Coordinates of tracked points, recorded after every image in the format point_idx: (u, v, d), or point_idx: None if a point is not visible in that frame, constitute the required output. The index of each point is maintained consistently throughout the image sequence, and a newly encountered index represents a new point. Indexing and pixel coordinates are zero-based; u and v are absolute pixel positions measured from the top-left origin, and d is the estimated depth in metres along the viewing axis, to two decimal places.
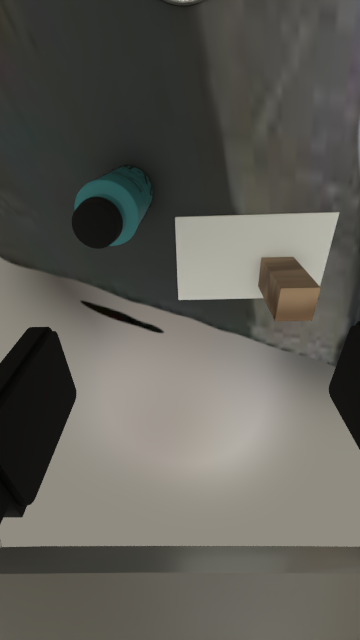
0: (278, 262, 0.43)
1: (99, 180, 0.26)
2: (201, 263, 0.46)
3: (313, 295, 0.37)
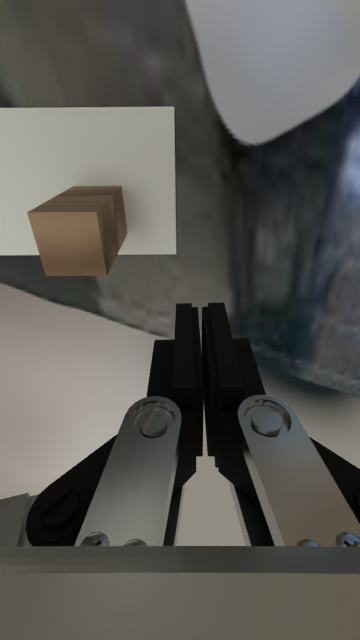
0: (87, 189, 0.27)
1: None
2: None
3: (90, 227, 0.21)
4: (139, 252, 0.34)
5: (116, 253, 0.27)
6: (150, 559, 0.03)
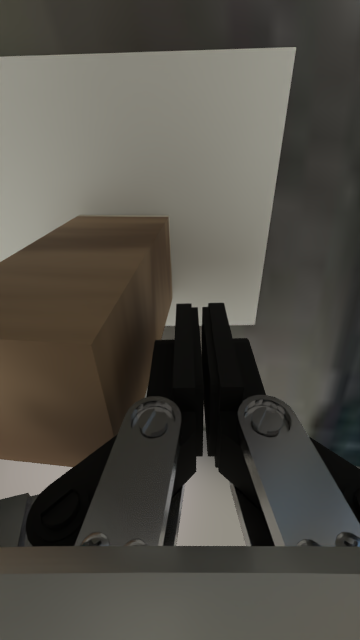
0: (99, 227, 0.13)
1: None
2: None
3: (72, 380, 0.07)
4: None
5: None
6: (150, 559, 0.03)
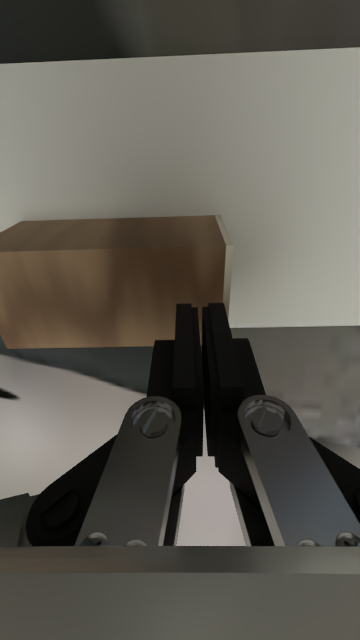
0: (174, 226, 0.14)
1: None
2: None
3: None
4: (307, 323, 0.19)
5: (92, 344, 0.14)
6: (150, 559, 0.03)
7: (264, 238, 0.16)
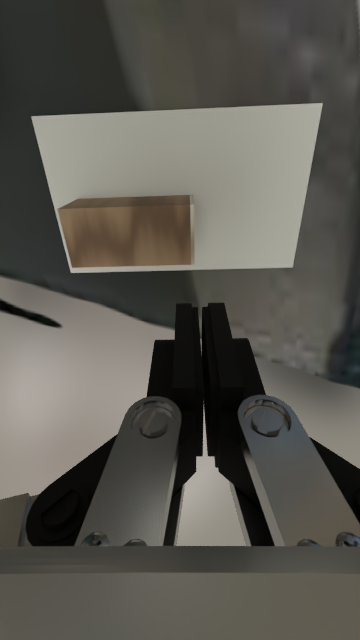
0: (165, 199, 0.25)
1: None
2: None
3: None
4: (251, 266, 0.30)
5: (120, 264, 0.25)
6: (150, 559, 0.03)
7: (219, 209, 0.27)
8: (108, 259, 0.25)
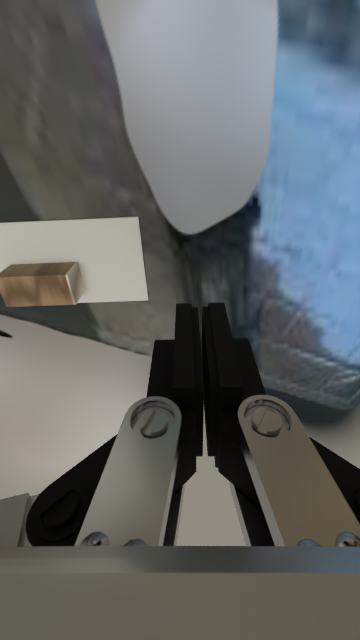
0: (58, 267, 0.44)
1: None
2: None
3: None
4: (123, 300, 0.49)
5: (33, 304, 0.44)
6: (150, 559, 0.03)
7: (95, 269, 0.46)
8: (26, 302, 0.44)
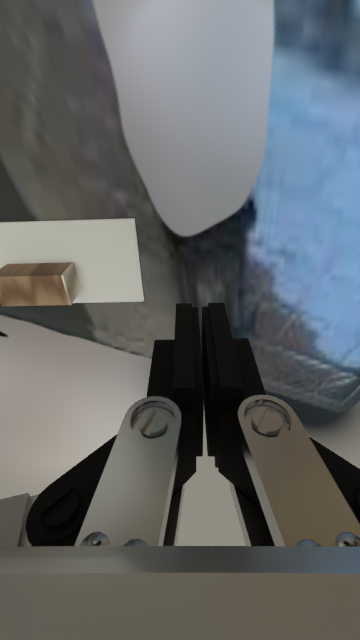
0: (54, 267, 0.44)
1: None
2: None
3: None
4: (119, 300, 0.49)
5: (29, 304, 0.44)
6: (150, 559, 0.03)
7: (91, 269, 0.46)
8: (21, 302, 0.44)
